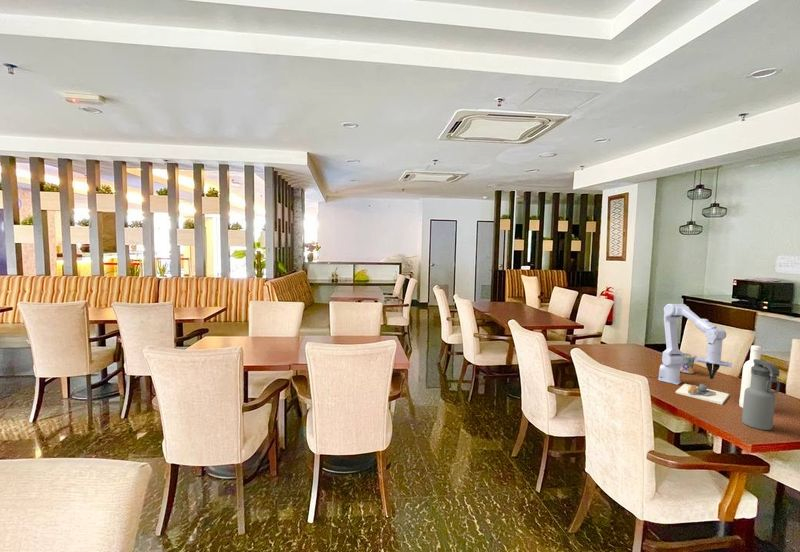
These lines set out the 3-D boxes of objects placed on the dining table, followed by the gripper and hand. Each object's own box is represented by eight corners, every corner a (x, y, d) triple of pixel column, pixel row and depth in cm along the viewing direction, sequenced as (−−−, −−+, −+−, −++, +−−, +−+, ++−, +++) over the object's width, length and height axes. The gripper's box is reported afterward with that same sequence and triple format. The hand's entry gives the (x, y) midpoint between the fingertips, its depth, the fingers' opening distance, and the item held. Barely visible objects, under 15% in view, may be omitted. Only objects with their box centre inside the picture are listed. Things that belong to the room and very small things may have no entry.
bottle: (763, 413, 183) (770, 349, 181) (741, 409, 187) (747, 346, 184) (758, 406, 190) (764, 345, 187) (737, 403, 194) (743, 343, 191)
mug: (697, 375, 235) (699, 358, 234) (679, 373, 238) (680, 356, 237) (689, 369, 247) (691, 352, 246) (672, 367, 249) (674, 351, 249)
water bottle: (779, 430, 165) (786, 365, 163) (760, 432, 164) (767, 365, 161) (754, 419, 175) (760, 358, 173) (735, 421, 174) (741, 358, 171)
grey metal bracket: (699, 388, 210) (700, 380, 209) (715, 394, 202) (716, 385, 202) (682, 391, 205) (683, 383, 205) (698, 396, 197) (699, 388, 197)
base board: (675, 393, 206) (676, 383, 205) (684, 385, 218) (685, 376, 217) (721, 404, 191) (722, 394, 191) (729, 395, 203) (729, 386, 203)
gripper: (695, 350, 200) (693, 377, 201) (733, 356, 191) (730, 383, 192) (696, 348, 205) (693, 373, 207) (732, 353, 197) (729, 380, 198)
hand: (711, 378), depth 200 cm, fingers closed
